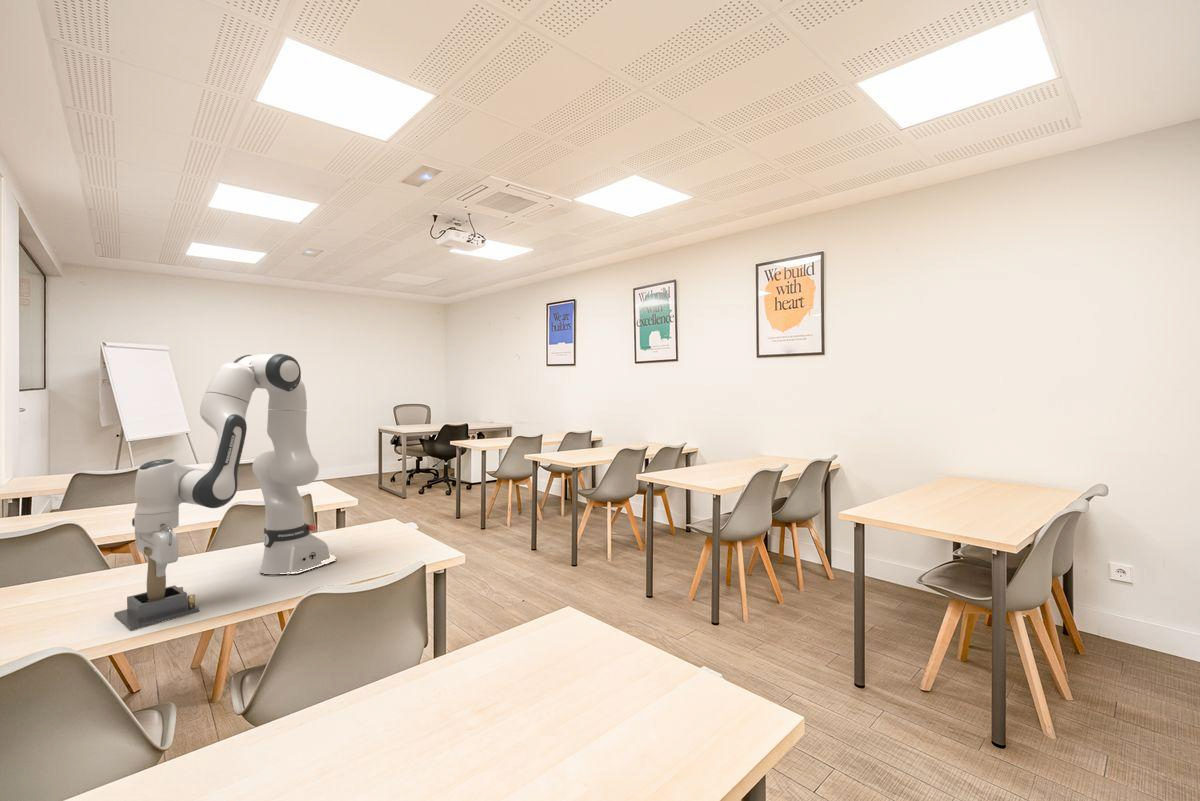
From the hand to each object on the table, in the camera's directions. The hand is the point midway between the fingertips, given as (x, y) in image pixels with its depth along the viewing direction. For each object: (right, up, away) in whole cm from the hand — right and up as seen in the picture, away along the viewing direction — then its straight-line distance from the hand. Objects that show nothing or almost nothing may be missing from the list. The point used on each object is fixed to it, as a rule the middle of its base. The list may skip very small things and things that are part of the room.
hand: (157, 573), depth 136 cm
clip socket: (0, -11, 0) cm, 11 cm away
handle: (0, -8, 0) cm, 8 cm away
